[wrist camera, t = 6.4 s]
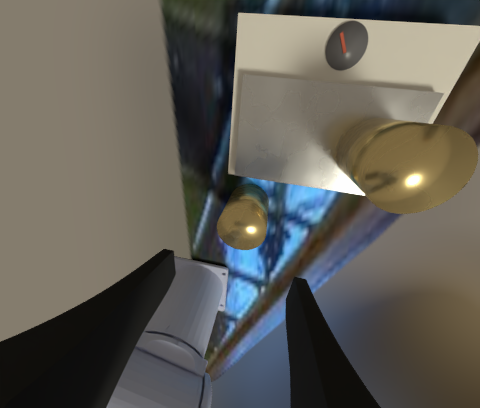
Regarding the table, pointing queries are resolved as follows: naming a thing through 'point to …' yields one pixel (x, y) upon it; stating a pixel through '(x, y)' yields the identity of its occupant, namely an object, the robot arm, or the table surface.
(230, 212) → the cylinder
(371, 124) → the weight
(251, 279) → the table surface
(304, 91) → the scale pan
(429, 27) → the scale
